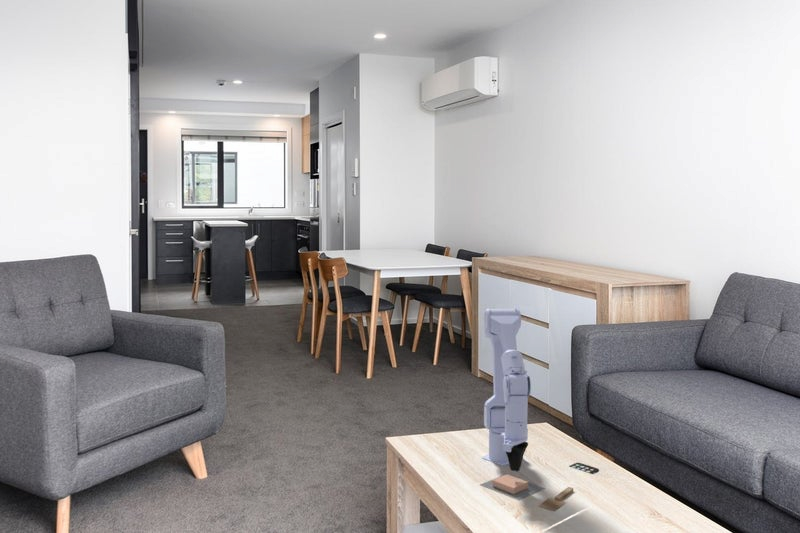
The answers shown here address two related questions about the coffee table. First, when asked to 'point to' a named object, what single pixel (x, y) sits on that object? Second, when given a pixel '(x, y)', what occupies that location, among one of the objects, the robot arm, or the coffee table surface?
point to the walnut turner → (556, 500)
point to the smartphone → (584, 468)
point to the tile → (510, 484)
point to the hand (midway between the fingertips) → (515, 470)
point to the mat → (519, 495)
